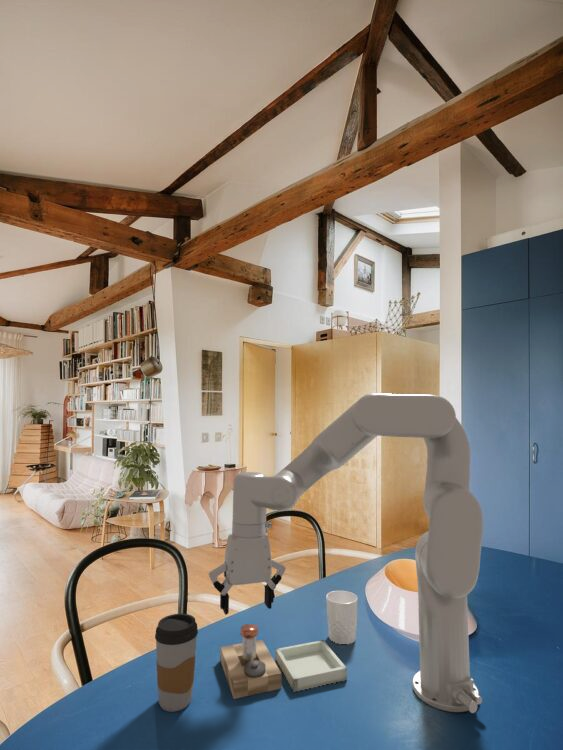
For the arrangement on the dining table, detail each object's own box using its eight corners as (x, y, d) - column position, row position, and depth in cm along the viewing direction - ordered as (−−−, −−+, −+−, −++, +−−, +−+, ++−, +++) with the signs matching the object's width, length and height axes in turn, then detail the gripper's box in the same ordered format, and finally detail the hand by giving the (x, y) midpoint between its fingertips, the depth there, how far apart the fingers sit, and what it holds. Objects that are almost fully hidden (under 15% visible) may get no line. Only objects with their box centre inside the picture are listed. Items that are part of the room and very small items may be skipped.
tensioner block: (281, 688, 90) (281, 664, 90) (233, 698, 86) (233, 674, 87) (262, 652, 103) (262, 632, 103) (220, 660, 99) (220, 639, 100)
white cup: (357, 647, 105) (357, 604, 106) (325, 644, 106) (324, 602, 107) (358, 631, 113) (357, 591, 113) (328, 628, 114) (327, 589, 115)
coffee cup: (179, 683, 91) (180, 608, 93) (205, 699, 86) (206, 620, 87) (144, 703, 85) (146, 623, 86) (170, 722, 80) (172, 637, 81)
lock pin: (260, 677, 93) (260, 631, 94) (242, 680, 92) (243, 633, 93) (255, 667, 97) (255, 622, 98) (238, 670, 96) (238, 625, 96)
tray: (347, 680, 92) (346, 668, 92) (293, 692, 88) (293, 679, 88) (323, 651, 103) (323, 640, 104) (275, 660, 100) (275, 649, 100)
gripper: (280, 522, 103) (278, 597, 102) (207, 527, 98) (204, 606, 96) (291, 531, 96) (289, 611, 95) (213, 536, 91) (210, 622, 89)
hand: (246, 608), depth 96 cm, fingers open, 9 cm apart
